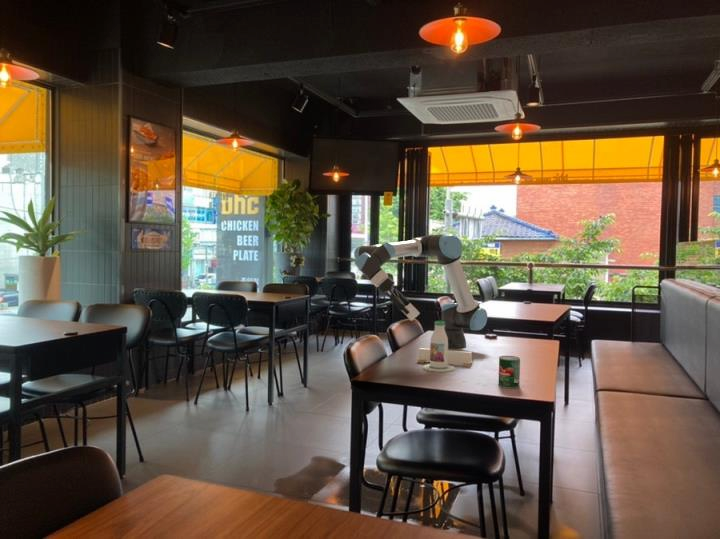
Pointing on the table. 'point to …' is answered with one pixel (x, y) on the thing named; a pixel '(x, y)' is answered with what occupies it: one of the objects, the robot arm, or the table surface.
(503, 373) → the canned tomato
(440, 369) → the coaster pad
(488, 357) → the table surface
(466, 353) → the low wall
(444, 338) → the milk bottle
